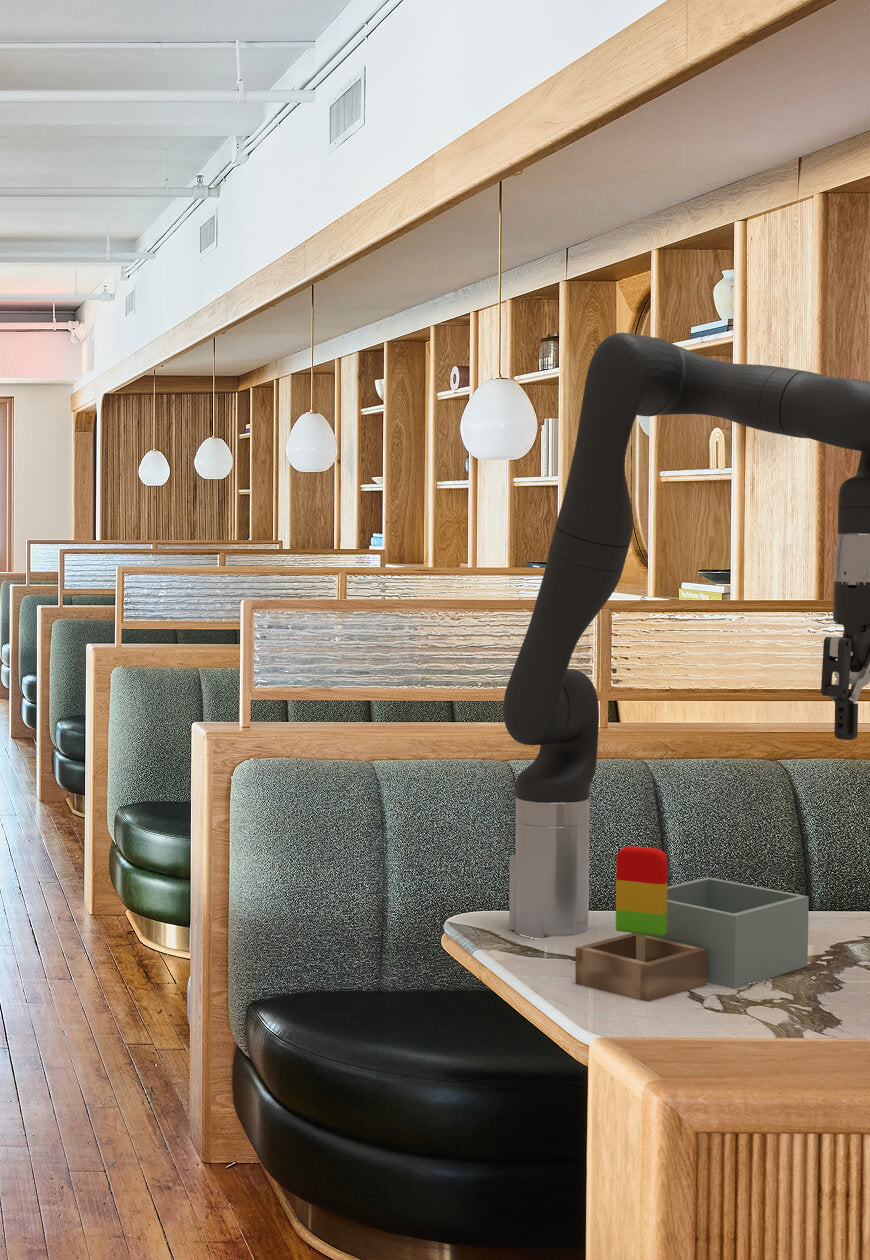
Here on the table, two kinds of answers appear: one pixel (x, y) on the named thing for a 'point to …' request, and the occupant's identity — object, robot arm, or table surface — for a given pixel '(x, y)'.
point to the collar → (640, 967)
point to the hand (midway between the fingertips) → (867, 735)
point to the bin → (739, 929)
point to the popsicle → (641, 894)
